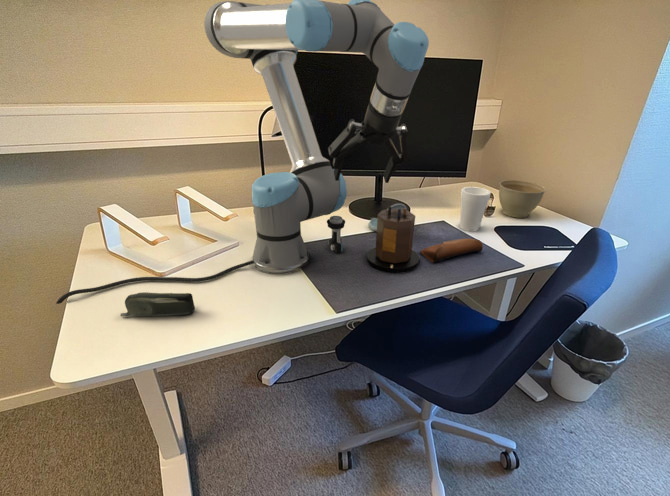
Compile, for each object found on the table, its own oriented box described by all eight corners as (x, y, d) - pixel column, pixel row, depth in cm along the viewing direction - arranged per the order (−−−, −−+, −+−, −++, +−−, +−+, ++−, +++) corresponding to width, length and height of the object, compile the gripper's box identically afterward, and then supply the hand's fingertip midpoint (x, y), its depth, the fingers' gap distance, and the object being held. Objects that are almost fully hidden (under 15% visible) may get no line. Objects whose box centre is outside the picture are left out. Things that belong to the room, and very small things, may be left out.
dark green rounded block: (192, 290, 87) (118, 291, 85) (189, 297, 85) (113, 299, 82) (196, 309, 90) (124, 311, 87) (193, 316, 87) (119, 318, 85)
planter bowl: (538, 224, 143) (546, 194, 137) (492, 217, 147) (499, 188, 141) (536, 210, 156) (544, 182, 150) (494, 204, 160) (500, 177, 154)
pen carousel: (383, 245, 118) (386, 198, 110) (413, 251, 115) (419, 203, 108) (371, 259, 110) (374, 208, 103) (404, 265, 108) (409, 214, 100)
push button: (321, 246, 120) (321, 215, 115) (336, 243, 123) (336, 212, 117) (333, 255, 115) (332, 222, 110) (348, 251, 118) (348, 219, 113)
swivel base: (380, 277, 105) (380, 271, 105) (358, 253, 117) (359, 248, 116) (428, 268, 111) (429, 263, 110) (403, 246, 122) (403, 242, 121)
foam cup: (488, 231, 136) (496, 194, 129) (465, 234, 133) (472, 196, 126) (472, 221, 143) (479, 185, 136) (450, 224, 140) (456, 187, 133)
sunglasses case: (463, 241, 126) (474, 227, 121) (474, 258, 124) (486, 246, 118) (418, 251, 119) (427, 237, 113) (428, 270, 116) (438, 257, 111)
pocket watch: (384, 206, 121) (360, 192, 132) (382, 239, 127) (359, 223, 138) (411, 201, 125) (386, 188, 136) (407, 233, 131) (384, 218, 142)
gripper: (332, 112, 79) (316, 187, 97) (442, 124, 87) (408, 190, 105) (326, 87, 82) (311, 164, 100) (433, 100, 90) (401, 169, 108)
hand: (361, 177), depth 102 cm, fingers open, 13 cm apart
